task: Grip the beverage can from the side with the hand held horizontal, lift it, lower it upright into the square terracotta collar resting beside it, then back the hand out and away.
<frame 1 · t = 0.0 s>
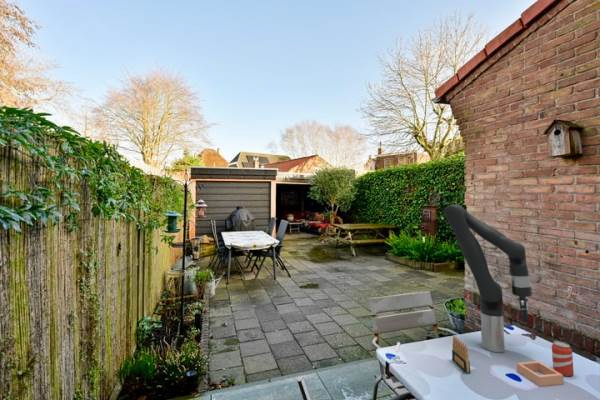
hand: (525, 319, 132), 17 cm above the table, tool pointing down, fingers open, 8 cm apart
ammunition clip: (460, 367, 125), on the table
terracotta collar: (539, 377, 115), on the table
beverage can: (563, 373, 118), on the table
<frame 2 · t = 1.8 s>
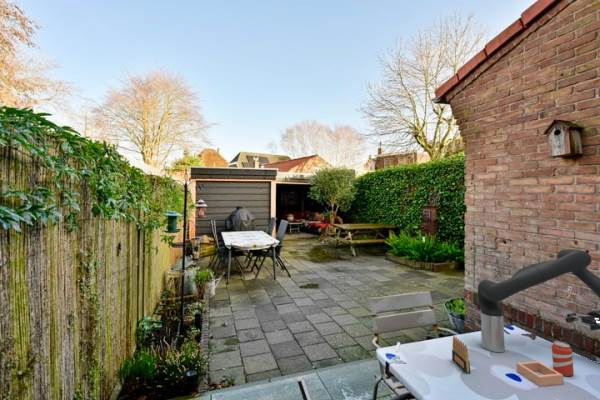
hand: (578, 323, 122), 19 cm above the table, tool horizontal, fingers open, 8 cm apart
nothing on the table moved.
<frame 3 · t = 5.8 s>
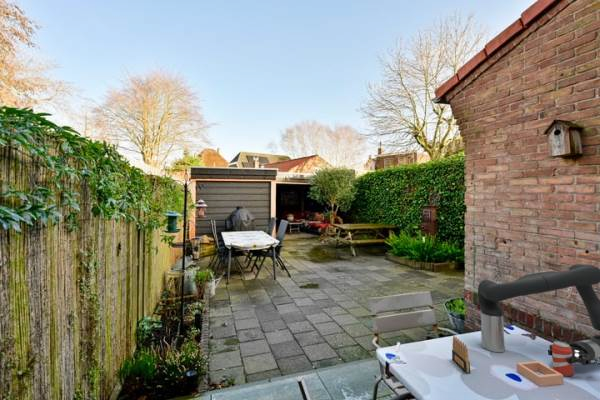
hand: (558, 356, 118), 7 cm above the table, tool horizontal, fingers closed on beverage can, 6 cm apart
beverage can: (563, 373, 118), on the table, touching gripper
everything else where it was.
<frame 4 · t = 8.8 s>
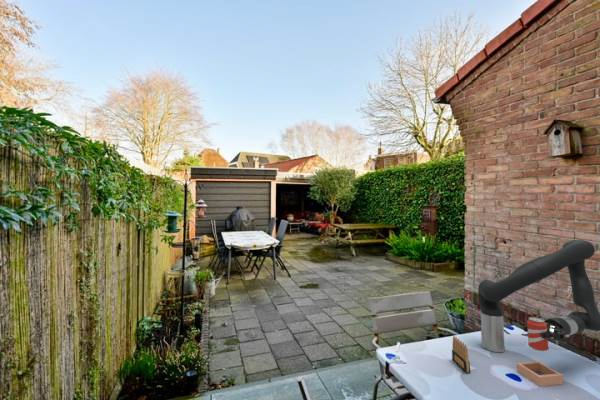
hand: (533, 332, 115), 19 cm above the table, tool horizontal, fingers closed on beverage can, 6 cm apart
beverage can: (538, 349, 116), point 11 cm above the table, touching gripper
everything else where it was.
when the fingers open (9 cm above the table, at t = 11.8 s): beverage can drops 2 cm, resting in terracotta collar.
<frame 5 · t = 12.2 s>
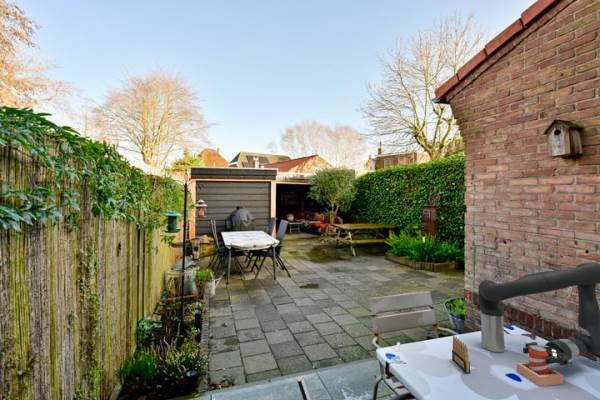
hand: (534, 356, 115), 9 cm above the table, tool horizontal, fingers open, 8 cm apart
beverage can: (539, 377, 115), resting in terracotta collar
everything else where it was.
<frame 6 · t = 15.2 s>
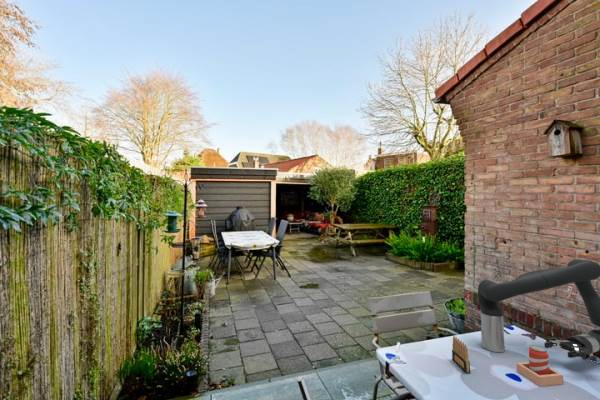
hand: (556, 350, 119), 9 cm above the table, tool horizontal, fingers open, 8 cm apart
nothing on the table moved.
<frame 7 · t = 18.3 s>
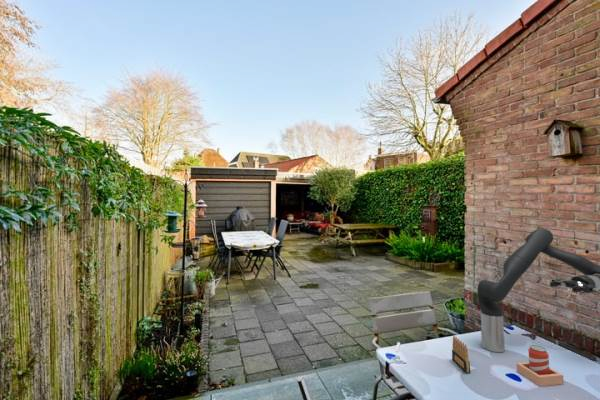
hand: (561, 287, 126), 34 cm above the table, tool horizontal, fingers open, 8 cm apart
nothing on the table moved.
at the end: beverage can 0.1 cm off-centre on the terracotta collar, point 0.0 cm above the terracotta collar's base; beverage can tilted 0°; the gripper is holding nothing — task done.
